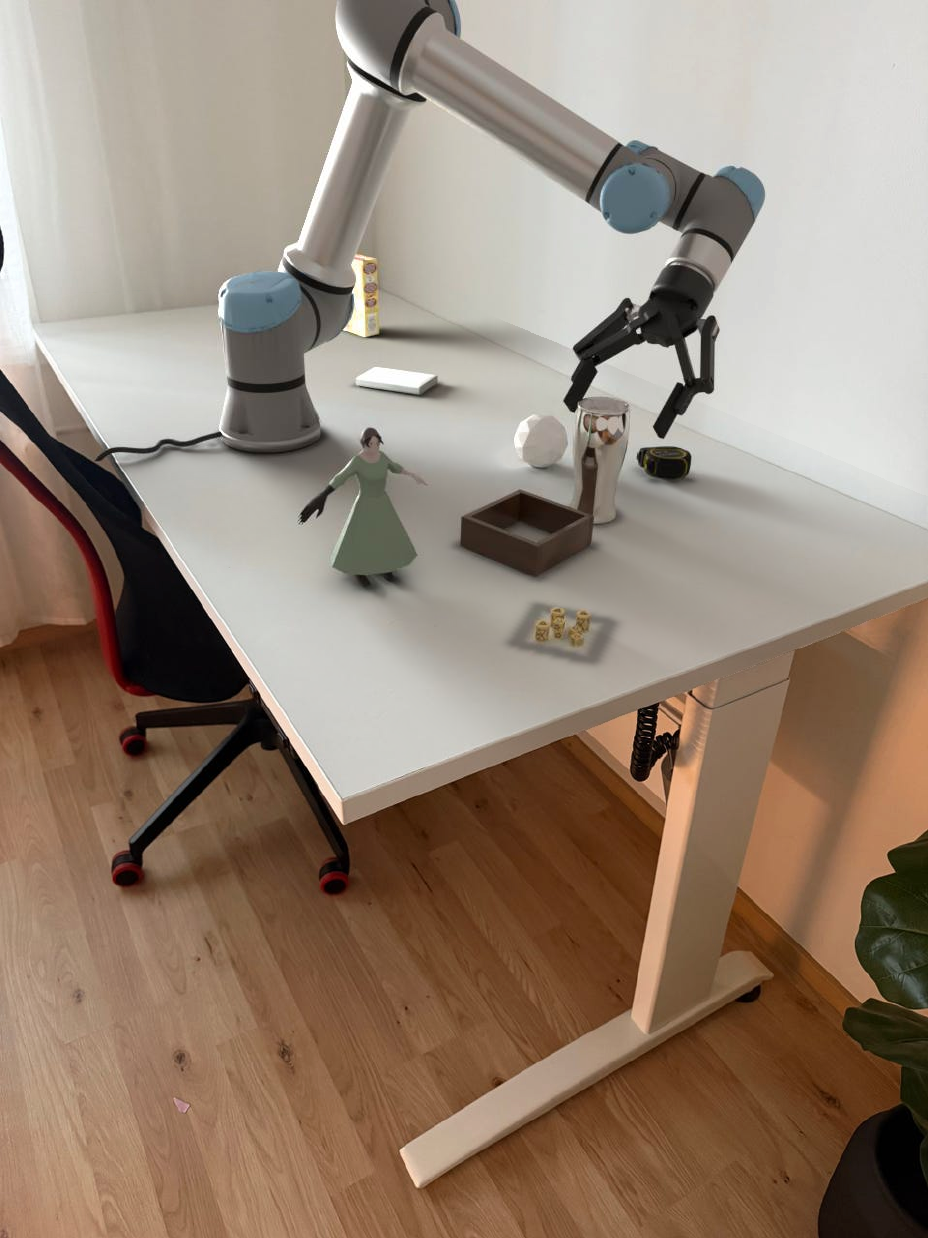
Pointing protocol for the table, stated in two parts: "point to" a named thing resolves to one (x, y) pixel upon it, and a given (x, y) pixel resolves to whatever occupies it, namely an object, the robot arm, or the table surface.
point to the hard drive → (397, 380)
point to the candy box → (365, 297)
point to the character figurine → (368, 516)
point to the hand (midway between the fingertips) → (612, 419)
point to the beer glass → (599, 454)
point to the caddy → (518, 552)
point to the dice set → (563, 626)
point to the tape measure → (665, 461)
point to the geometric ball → (541, 440)
